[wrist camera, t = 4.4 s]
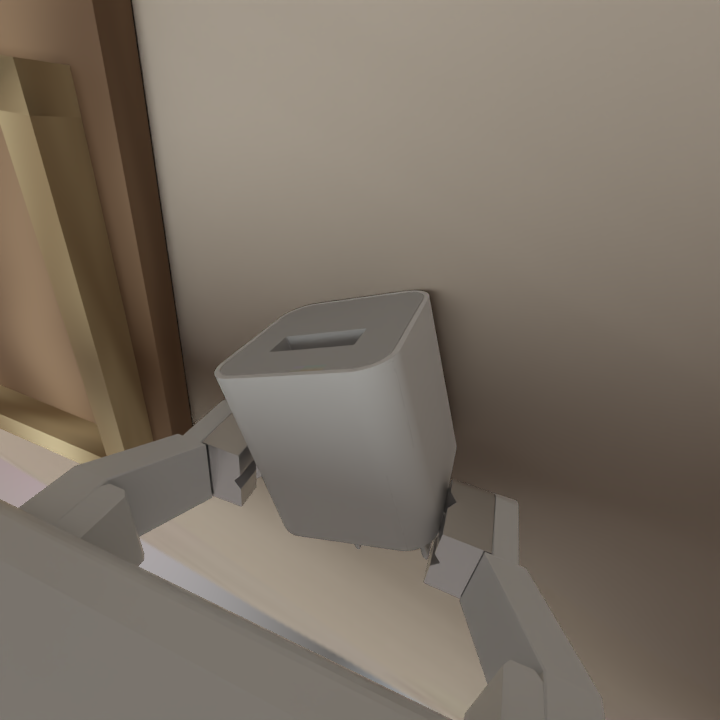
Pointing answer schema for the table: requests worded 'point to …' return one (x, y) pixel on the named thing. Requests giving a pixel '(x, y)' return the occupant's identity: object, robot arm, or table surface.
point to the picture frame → (82, 238)
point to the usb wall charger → (349, 419)
